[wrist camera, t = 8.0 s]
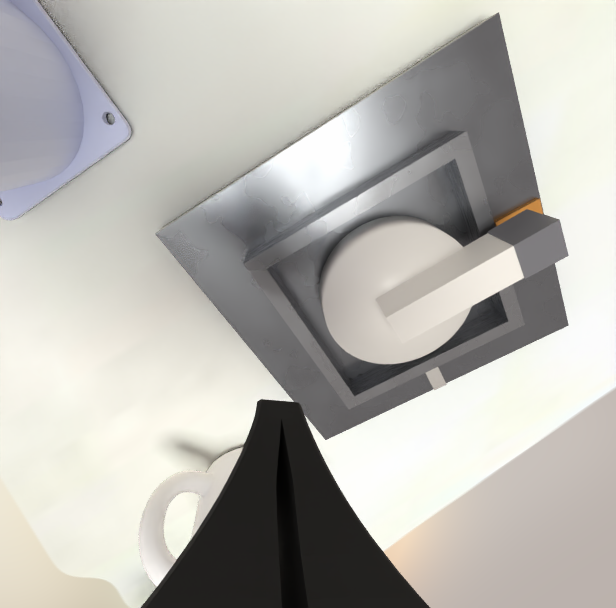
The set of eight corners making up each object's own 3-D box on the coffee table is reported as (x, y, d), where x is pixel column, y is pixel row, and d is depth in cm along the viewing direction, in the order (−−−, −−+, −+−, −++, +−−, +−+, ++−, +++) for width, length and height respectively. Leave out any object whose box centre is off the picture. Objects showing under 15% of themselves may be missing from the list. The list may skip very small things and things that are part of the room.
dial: (360, 364, 22) (376, 409, 18) (291, 268, 18) (295, 301, 15) (527, 274, 20) (581, 305, 16) (485, 147, 16) (542, 152, 13)
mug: (141, 469, 27) (71, 649, 17) (199, 404, 24) (153, 574, 15) (265, 518, 31) (262, 683, 22) (326, 467, 28) (350, 629, 19)
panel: (162, 227, 18) (145, 242, 16) (483, 20, 15) (521, 0, 13) (323, 427, 26) (328, 457, 24) (555, 316, 23) (587, 338, 21)
